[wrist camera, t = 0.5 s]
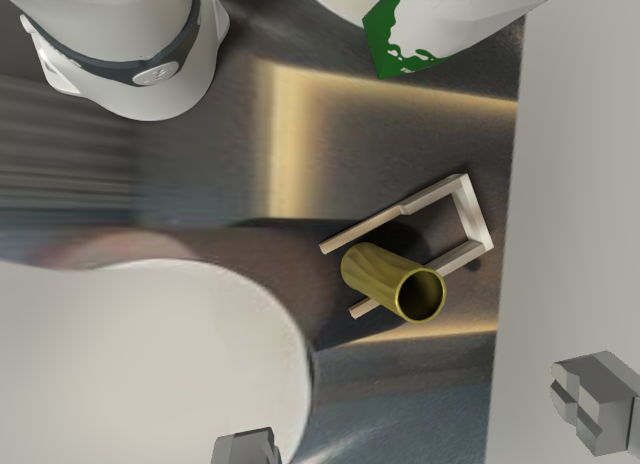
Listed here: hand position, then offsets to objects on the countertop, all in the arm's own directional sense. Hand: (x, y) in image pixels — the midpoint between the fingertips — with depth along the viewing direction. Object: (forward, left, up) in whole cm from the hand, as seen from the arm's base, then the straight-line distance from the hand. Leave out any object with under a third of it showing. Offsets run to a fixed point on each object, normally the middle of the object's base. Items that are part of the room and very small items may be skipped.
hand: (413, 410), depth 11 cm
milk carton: (-15, +25, -36) cm, 46 cm away
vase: (+8, +10, -36) cm, 38 cm away
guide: (+8, +16, -35) cm, 40 cm away
